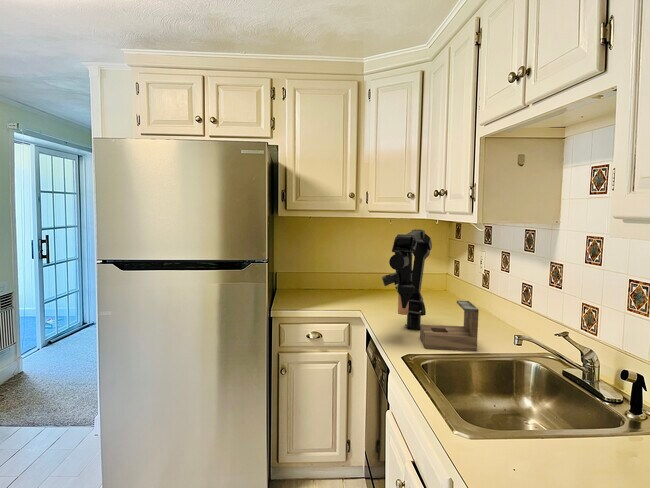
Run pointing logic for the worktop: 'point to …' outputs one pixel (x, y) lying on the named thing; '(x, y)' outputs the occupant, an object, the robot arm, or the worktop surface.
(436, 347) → the socket station
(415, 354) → the worktop surface
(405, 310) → the peg
